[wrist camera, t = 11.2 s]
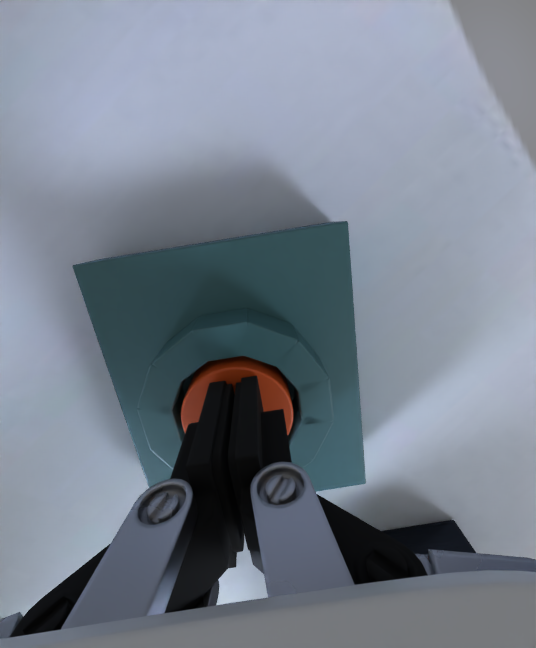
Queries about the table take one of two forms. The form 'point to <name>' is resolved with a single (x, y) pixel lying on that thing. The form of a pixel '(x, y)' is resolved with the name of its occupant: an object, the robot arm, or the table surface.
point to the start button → (232, 372)
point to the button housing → (235, 338)
